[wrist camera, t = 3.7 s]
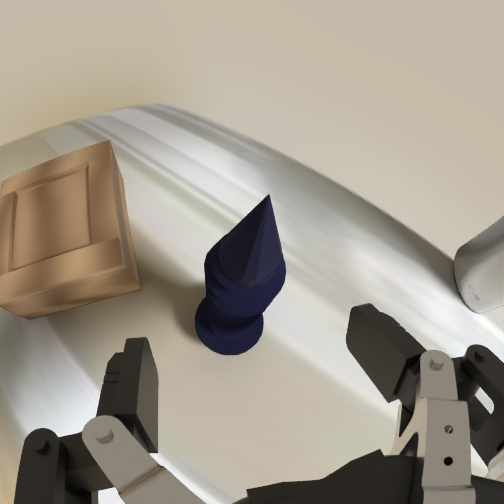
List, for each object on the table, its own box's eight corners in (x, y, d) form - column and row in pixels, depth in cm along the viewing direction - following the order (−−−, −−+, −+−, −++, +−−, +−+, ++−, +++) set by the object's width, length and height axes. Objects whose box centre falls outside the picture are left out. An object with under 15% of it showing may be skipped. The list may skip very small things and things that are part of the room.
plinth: (122, 179, 27) (109, 140, 22) (141, 288, 23) (122, 263, 18) (27, 212, 24) (2, 181, 19) (28, 319, 20) (-8, 303, 15)
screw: (184, 321, 22) (231, 284, 24) (225, 369, 21) (271, 329, 23) (119, 181, 6) (270, 102, 8) (264, 356, 5) (400, 214, 7)
